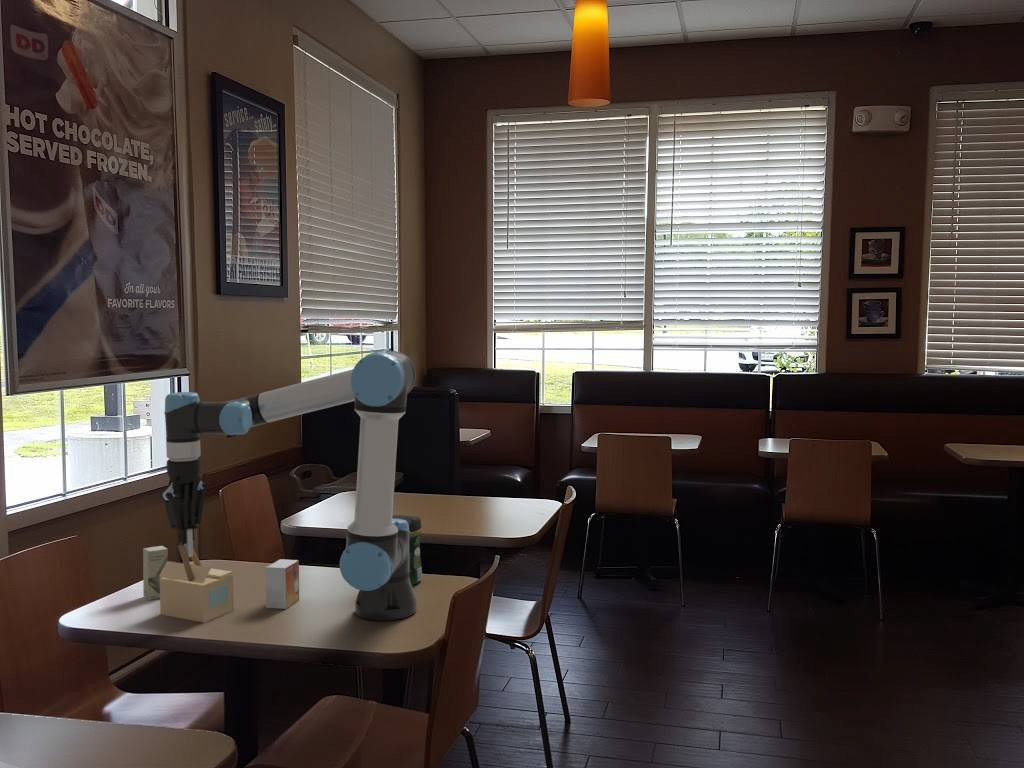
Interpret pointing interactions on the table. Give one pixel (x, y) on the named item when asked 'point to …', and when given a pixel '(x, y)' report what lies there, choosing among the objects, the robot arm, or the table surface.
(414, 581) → the coffee jar
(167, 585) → the carton
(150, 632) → the table surface
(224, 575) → the right flap
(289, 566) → the small box
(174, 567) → the left flap
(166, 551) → the box
